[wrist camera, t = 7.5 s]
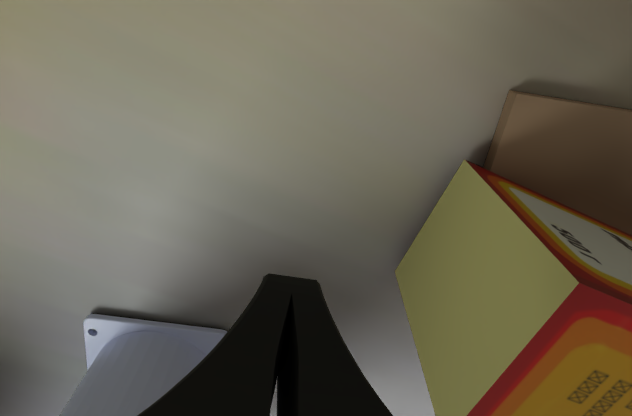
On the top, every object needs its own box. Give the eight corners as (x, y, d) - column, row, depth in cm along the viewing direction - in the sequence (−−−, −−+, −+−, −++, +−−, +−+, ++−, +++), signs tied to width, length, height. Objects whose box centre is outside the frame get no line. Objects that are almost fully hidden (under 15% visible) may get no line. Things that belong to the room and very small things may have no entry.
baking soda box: (464, 159, 19) (733, 281, 22) (394, 271, 22) (643, 368, 25) (579, 282, 11) (994, 457, 14) (443, 443, 13) (815, 562, 16)
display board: (691, 312, 24) (703, 322, 23) (445, 279, 23) (449, 288, 22) (805, 138, 20) (823, 143, 19) (509, 90, 19) (516, 93, 18)
